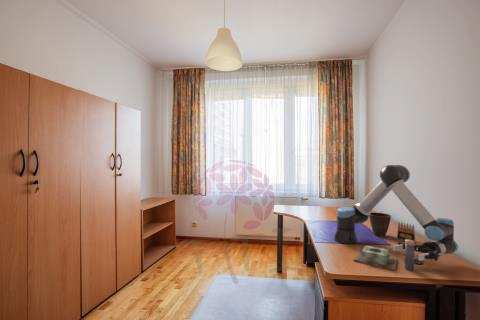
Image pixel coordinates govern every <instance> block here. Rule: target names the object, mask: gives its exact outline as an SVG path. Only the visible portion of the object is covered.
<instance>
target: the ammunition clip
mask: <svg viewBox="0 0 480 320" xmlns="http://www.w3.org/2000/svg"><path fill="white" fill-rule="evenodd" d="M403 223H404V224H403ZM415 231H416V230H415V226H414V224H411V223H410V224H409V223H408V222H407V223H405V222H400V221H399V222H398V224H397V239H400V240H404V241H405V240H406V239H409V240H413V241H414V242H416V235H415Z"/></svg>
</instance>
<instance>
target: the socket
mask: <svg viewBox="0 0 480 320" xmlns="http://www.w3.org/2000/svg"><path fill="white" fill-rule="evenodd" d="M389 250H390V249H386V248H383V247H382V248H381V247H377V246H376V247H375V246H369V245H364V247H363V248H362V250H361V251H360V250H358V252H357V253H356V255H355V256H354V258H353V260H352V261H353V262H356V263H360V264H365V265H369V266H374V267H378V268H382V269H386V270H391V271H396V268H397V262H398V259H397V258H394V257H390V256H389V254H390V253H389V252H390V251H389Z"/></svg>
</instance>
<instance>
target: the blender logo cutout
mask: <svg viewBox="0 0 480 320" xmlns="http://www.w3.org/2000/svg"><path fill="white" fill-rule="evenodd" d="M423 264H424V260H418V259H417V258H414V265H423Z"/></svg>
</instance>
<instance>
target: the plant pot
mask: <svg viewBox="0 0 480 320" xmlns="http://www.w3.org/2000/svg"><path fill="white" fill-rule="evenodd" d="M391 218H392V215H391V214H388V213H384V212H383V213H382V212H370V215H369V217H368V219H369V221H370V226H371V229H372V232H373V234H374V235H375V236H377V237H385V236H386V235H387V233H388V230H389V227H390V223H391Z"/></svg>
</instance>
